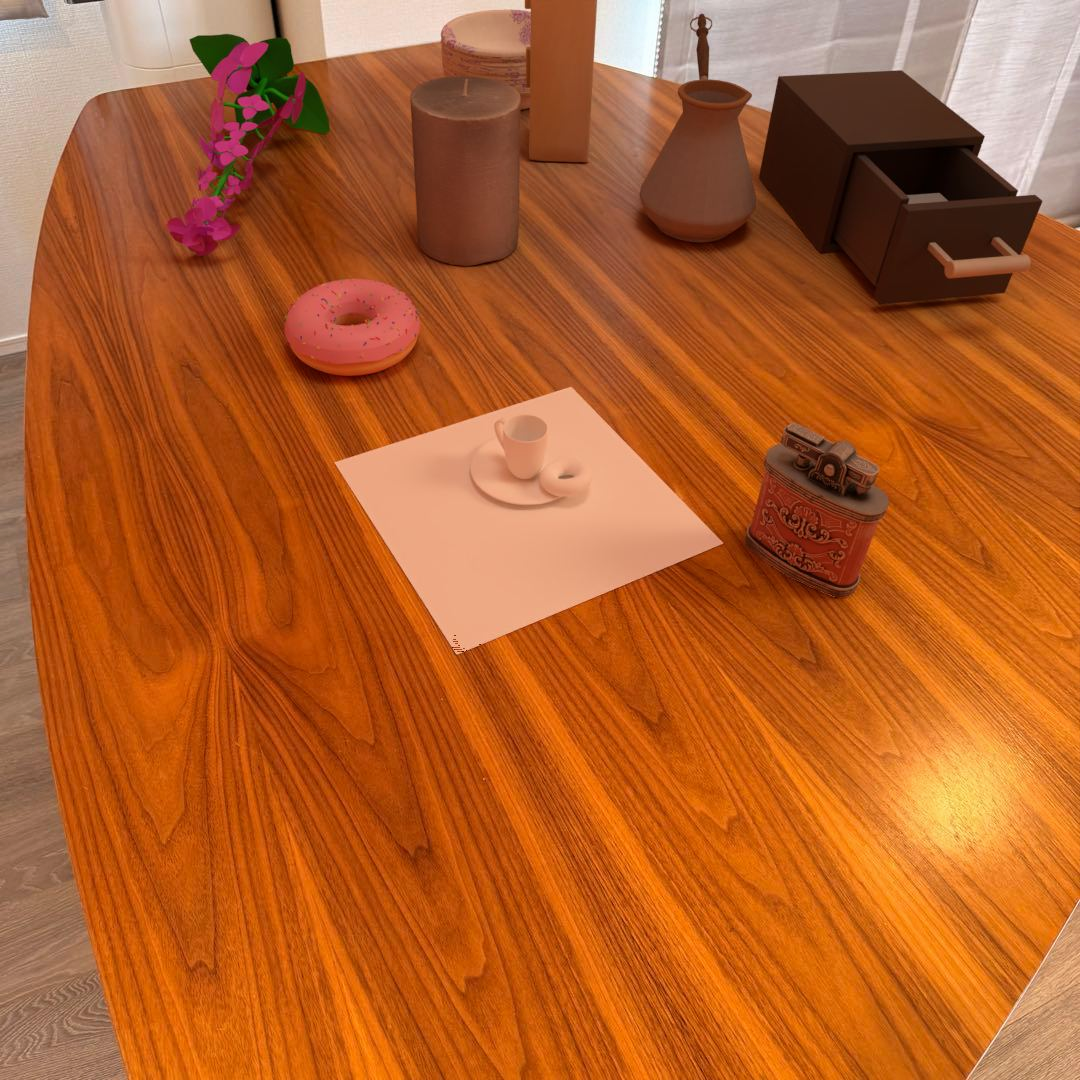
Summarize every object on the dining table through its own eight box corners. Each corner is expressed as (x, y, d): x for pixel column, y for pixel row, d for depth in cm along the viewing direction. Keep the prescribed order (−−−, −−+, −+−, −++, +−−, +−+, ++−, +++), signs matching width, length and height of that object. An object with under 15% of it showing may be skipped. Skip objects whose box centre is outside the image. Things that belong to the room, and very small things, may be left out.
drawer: (1033, 321, 85) (1075, 227, 79) (903, 334, 83) (936, 238, 77) (923, 213, 99) (951, 126, 92) (809, 222, 97) (830, 133, 90)
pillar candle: (442, 211, 98) (435, 53, 87) (533, 229, 96) (537, 69, 85) (400, 255, 91) (388, 91, 81) (497, 276, 89) (497, 109, 79)
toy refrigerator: (524, 131, 112) (528, -79, 98) (588, 134, 112) (601, -76, 97) (521, 161, 107) (524, -57, 92) (588, 164, 107) (601, -54, 92)
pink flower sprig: (318, 146, 117) (271, 326, 94) (180, 73, 110) (94, 248, 87) (360, 56, 109) (319, 228, 86) (215, -28, 102) (129, 135, 79)
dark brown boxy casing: (947, 242, 96) (985, 136, 89) (820, 253, 94) (847, 144, 87) (873, 170, 108) (901, 69, 100) (758, 177, 106) (778, 75, 98)
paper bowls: (417, 98, 119) (413, 27, 113) (500, 65, 127) (500, -1, 121) (511, 134, 112) (511, 61, 106) (592, 97, 120) (596, 28, 115)
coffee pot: (758, 255, 93) (791, 94, 83) (638, 250, 94) (656, 88, 83) (734, 160, 109) (759, 13, 98) (631, 155, 109) (645, 8, 98)
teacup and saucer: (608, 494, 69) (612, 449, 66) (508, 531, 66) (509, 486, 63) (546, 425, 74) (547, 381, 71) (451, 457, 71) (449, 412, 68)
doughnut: (317, 400, 75) (310, 355, 72) (269, 331, 82) (260, 287, 79) (444, 362, 79) (442, 317, 76) (388, 298, 86) (384, 255, 83)
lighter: (866, 578, 64) (912, 462, 56) (840, 607, 62) (884, 490, 55) (761, 520, 67) (792, 403, 60) (734, 545, 65) (762, 428, 58)
